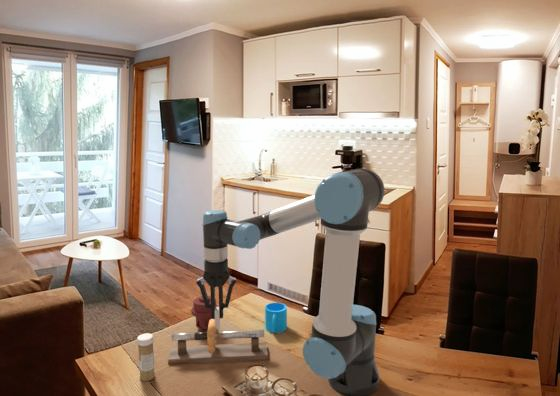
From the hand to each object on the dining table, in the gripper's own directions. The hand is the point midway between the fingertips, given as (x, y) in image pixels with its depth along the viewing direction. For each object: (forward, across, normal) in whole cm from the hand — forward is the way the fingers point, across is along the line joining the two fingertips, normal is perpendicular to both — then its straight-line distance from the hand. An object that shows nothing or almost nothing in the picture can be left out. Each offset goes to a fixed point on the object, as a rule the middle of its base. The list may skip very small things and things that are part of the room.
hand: (217, 327), depth 143 cm
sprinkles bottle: (+10, +21, +11) cm, 26 cm away
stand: (+10, 0, 0) cm, 10 cm away
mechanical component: (+10, +6, -19) cm, 22 cm away
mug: (+10, -20, -16) cm, 28 cm away
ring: (+7, +2, 0) cm, 7 cm away
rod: (+4, 0, 0) cm, 4 cm away
